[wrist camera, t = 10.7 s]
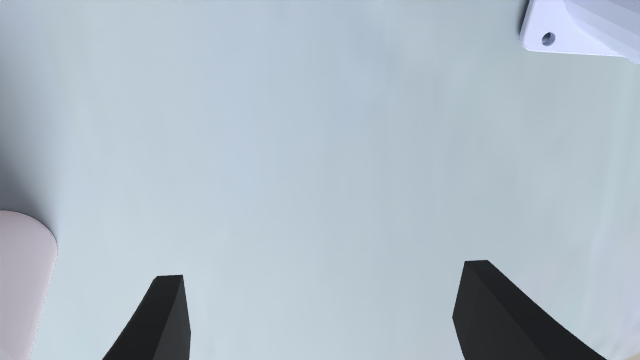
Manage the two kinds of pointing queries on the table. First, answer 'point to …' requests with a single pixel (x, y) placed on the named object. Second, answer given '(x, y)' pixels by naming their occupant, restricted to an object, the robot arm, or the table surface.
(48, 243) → the smoothie
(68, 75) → the table surface
